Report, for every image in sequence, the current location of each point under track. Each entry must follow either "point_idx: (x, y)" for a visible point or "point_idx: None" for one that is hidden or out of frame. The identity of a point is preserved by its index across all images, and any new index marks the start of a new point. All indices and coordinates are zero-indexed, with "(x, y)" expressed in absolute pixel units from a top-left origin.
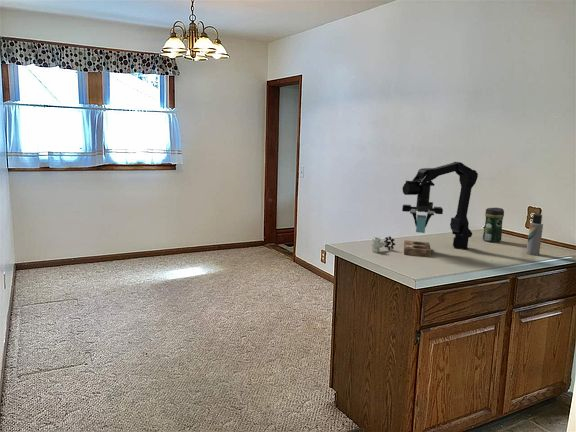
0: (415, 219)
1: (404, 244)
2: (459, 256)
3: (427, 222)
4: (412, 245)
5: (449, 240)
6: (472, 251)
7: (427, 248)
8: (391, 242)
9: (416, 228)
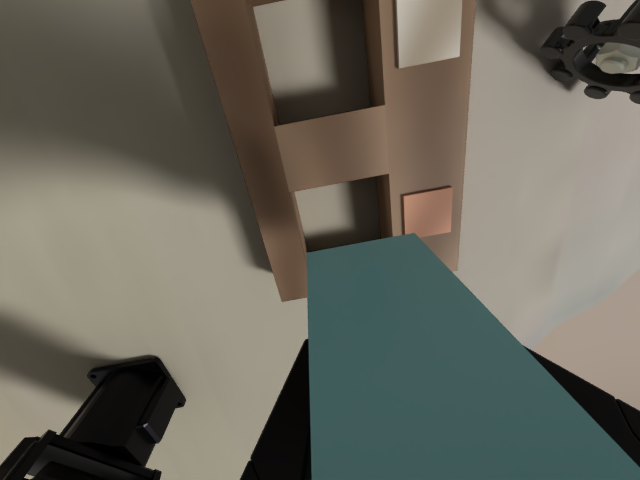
0: (606, 417)
1: (467, 103)
2: (26, 164)
3: (275, 416)
4: (393, 104)
5: (236, 466)
6: (50, 346)
7: (236, 43)
8: (629, 9)
9: (437, 259)
